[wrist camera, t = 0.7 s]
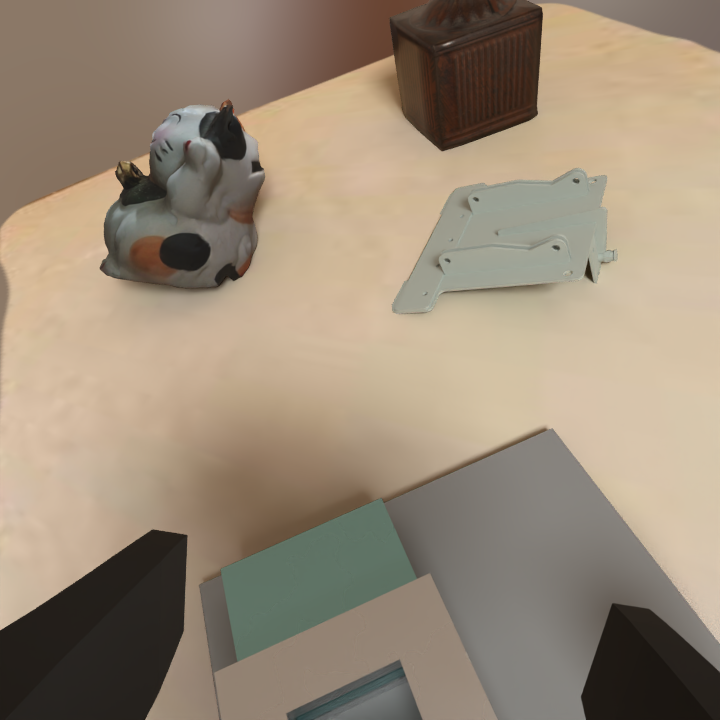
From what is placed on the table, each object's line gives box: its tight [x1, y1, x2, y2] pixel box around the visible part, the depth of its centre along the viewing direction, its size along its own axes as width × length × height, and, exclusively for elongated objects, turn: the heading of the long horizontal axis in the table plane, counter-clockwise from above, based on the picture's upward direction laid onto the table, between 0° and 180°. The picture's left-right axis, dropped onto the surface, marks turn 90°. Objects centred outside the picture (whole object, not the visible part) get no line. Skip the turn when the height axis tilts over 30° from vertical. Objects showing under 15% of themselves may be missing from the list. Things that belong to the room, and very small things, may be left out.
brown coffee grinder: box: [390, 0, 543, 151], centre depth 48 cm, size 16×11×18 cm
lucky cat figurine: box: [100, 100, 265, 288], centre depth 42 cm, size 15×12×14 cm
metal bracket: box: [392, 168, 618, 314], centre depth 38 cm, size 14×6×15 cm
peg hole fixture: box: [214, 498, 498, 720], centre depth 20 cm, size 15×9×4 cm, turn 21°
